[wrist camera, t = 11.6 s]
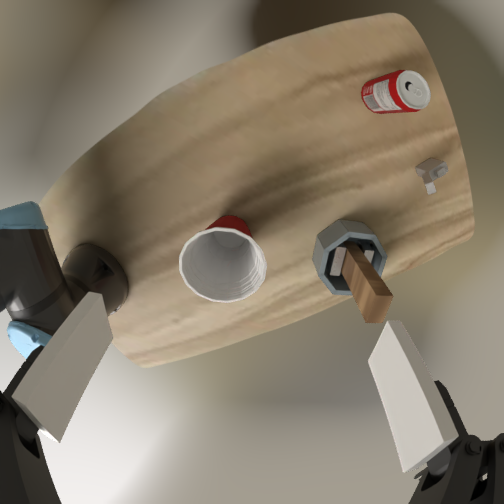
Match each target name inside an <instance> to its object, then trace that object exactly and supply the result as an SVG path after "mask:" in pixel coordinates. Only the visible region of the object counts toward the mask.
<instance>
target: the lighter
mask: <svg viewBox="0 0 504 504" xmlns="http://www.w3.org/2000/svg"><path fill="white" fill-rule="evenodd" d="M415 169H416V172H417V174H418V176H420V177H422V178H423V181H424V184H425V187H426V189H427V192H428V195H429V194H432V193H435V192H436V189H435V186H434V183H433V181H434V180H435V179H437V178H440V177H442V176H443V175H445V174H446V172H448V167H447V164H446V162H444V161H441V160H437V159H433V158H430V159H428V160H426V161H425V162H423V163H421V164H420V165H418V166H416V167H415Z"/></svg>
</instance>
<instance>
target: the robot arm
mask: <svg viewBox="0 0 504 504" xmlns="http://www.w3.org/2000/svg"><path fill="white" fill-rule="evenodd" d="M127 294H128V283H127V279H126V276H125V274H124V271H123V270H122V268H121V266H120V265H119V263H118V262H117V261H116V260H115V258H114V257H113V256H111V255H110V254H109V253H108V252H107V251H105V250H103V249H102V248H100V247H97V246H94V245H88V244H85V245H80V246H78V247H76V248H75V249H74V250H73V251H71V252H70V253H69V254H68V255H67V257H66V258H65V260H64V262H63V266H62V268H61V267H60V264H59V262H58V259H57V257H56V254H55V251H54V248H53V245H52V242H51V239H50V235H49V232H48V226H47V225H46V223H45V221H44V218H43V215H42V212H41V209H40V207H39V205H38V204H37V203H35V202H32V201H30V202H25V203H22V204H18V205H15V206H12V207H8V208H5V209H2V210H0V312H1V311H3V310H4V309H5V308H6V309H7V311H8V313H9V315H10V316H11V318H12V321H11V322H10V323H9V326H8V328H7V332H8V336H9V339H10V341H11V342H12V344H13V345H14V346H15V348H16V349H17V350H18V351H19V352H20V353H21V354H22V355H23V356H24V357H25V358H26V362H24V363H23V365H22V366H21V368H20V369H19V370H18V372H17V373H16V375H15V376H14V378H13V379H12V381H11V382H10V384H9V385H8V387H7V389H6V390H5V391H4V392H3V393H2V392H1V391H0V504H61V501H60V499H59V497H58V494H57V492H56V489H55V486H54V484H53V481H52V478H51V475H50V472H49V469H48V466H47V463H46V460H45V456H44V453H43V449H42V445H41V442H40V438H39V436H38V434H37V432H38V430H39V429H40V430H41V432H42V433H43V434H45V436H47V437H49V438H51V439H52V440H54V441H57V442H58V443H60V441H61V439H62V437H63V435H64V432H65V430H66V428H67V426H68V423H69V421H70V419H71V417H72V415H73V413H74V411H75V409H76V407H77V405H78V403H79V401H80V398H81V397H82V395H83V393H84V390H85V389H86V387H87V385H88V383H89V381H90V379H91V377H92V375H93V374H94V372H95V370H96V368H97V366H98V364H99V363H100V360H101V359H102V357H103V355H104V354H105V352H106V350H107V348H108V346H109V345H110V343H111V341H112V339H113V335H112V332H111V328H110V324H109V321H108V316H109V315H112V314H113V313H115V312H117V311H118V310H119V309H120V308H121V306H122V305H123V303H124V302H125V300H126V298H127ZM368 363H369V366H370V369H371V371H372V374H373V377H374V380H375V382H376V385H377V388H378V391H379V394H380V397H381V400H382V403H383V406H384V409H385V412H386V415H387V418H388V421H389V424H390V428H391V431H392V434H393V438H394V441H395V444H396V448H397V451H398V455H399V458H400V462H401V466H402V470H403V473H405V472H409V471H411V470H414V469H418V468H419V467H421V466H422V465H424V464H425V463H426V462H427V466H428V467H427V468H425V469H424V470H422V471H421V472H419V473H418V474H417V475H416V476H415V478H414V479H416V478H418V477H420V476H421V475H422V477H421V478H420V479H419V481H420V482H419V484H418V486H417V488H416V490H415V492H414V494H413V496H412V498H411V500H410V502H409V504H504V433H501V434H499V435H498V436H497V437H496V438H495V439H494V440H490V441H481V440H480V439H479V438H478V437H477V436H475V435H468V433H467V431H466V429H465V427H464V425H463V422H462V420H461V418H460V416H459V413H458V411H457V409H456V407H454V403H453V401H452V399H451V397H450V395H449V393H448V391H447V389H446V387H445V386H444V385H442V383H441V382H440V381H439V380H438V381H433V379H432V377H431V375H430V373H429V371H428V369H427V367H426V365H425V364H424V361H423V360H422V358H421V356H420V354H419V352H418V350H417V349H416V347H415V345H414V344H413V341H412V340H411V338H410V336H409V334H408V333H407V331H406V329H405V328H404V326H403V324H402V323H401V321H387V323H386V325H385V327H384V330H383V331H382V334H381V336H380V338H379V340H378V342H377V344H376V346H375V348H374V350H373V352H372V354H371V356H370V358H369V360H368ZM486 473H487V479H485V480H483V479H482V476H483V475H485V474H486Z"/></svg>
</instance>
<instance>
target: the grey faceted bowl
mask: <svg viewBox="0 0 504 504" xmlns="http://www.w3.org/2000/svg"><path fill="white" fill-rule="evenodd" d="M357 240H363V241H366V242H367V243H368V244H369V245H370V246H371V248H372V249H373V250H374V254H373V258H372V261H371V265H372V266H373V267H374V269H375V270H376V272H377V273H378V274H379V276H380V277H381V275H382V272H383V269H384V266H385V263H386V259H387V254H386V252H385V251H384V249H383V247H382V245H381V244H380V242H379V240H378V238H377V237H376V235H375V234H374V233H373V232H372V231H371V230H370V229H369V228H368V227H367V226H366V225H365V224H364V223H363V222H356V221H348V220H341V219H338V220H337V221H336V222H334V223H333V224H332V225H330V226H329V227H328V228H326V229H325V230H323V231H322V232H321V233H319V234H318V235H317V238H316V243H315V248H314V253H313V258H312V260H313V263H314V265H315V268H316V271H317V274H318V276H319V277H320V279H321V280H322V281H323V283H324V284H325V285H326V286H327V288H328V289H329V290H330V291H331V293H332V294H335V295H352V292H351V290H350V288H349V286H348V284H347V282H346V280H345V278H344V276H343V274H342V272H340V275H339V276H334V275H330V274H329V273H328V270H327V268H326V263H327V259H328V254H329V252H330V251H331V250H333V249H334V248H335V247H337V246H338V245H340V244H341V243H342V242H344V241H353V242H355V243H357Z"/></svg>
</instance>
